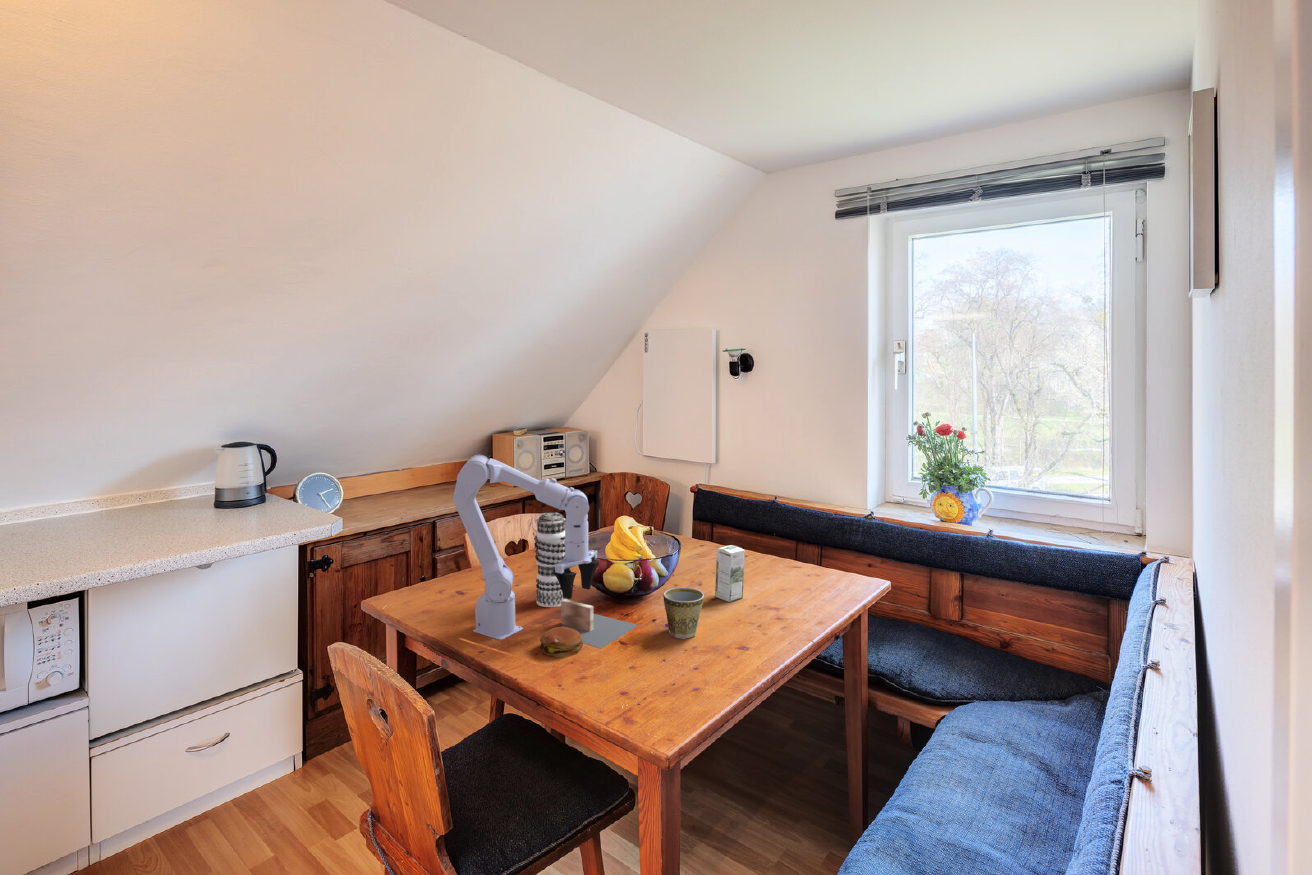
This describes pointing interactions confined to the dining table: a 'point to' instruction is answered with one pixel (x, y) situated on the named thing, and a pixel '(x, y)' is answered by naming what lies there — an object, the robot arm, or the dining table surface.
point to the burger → (561, 642)
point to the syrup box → (729, 573)
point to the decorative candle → (549, 558)
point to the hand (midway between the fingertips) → (577, 593)
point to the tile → (577, 615)
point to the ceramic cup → (683, 611)
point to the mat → (603, 631)
